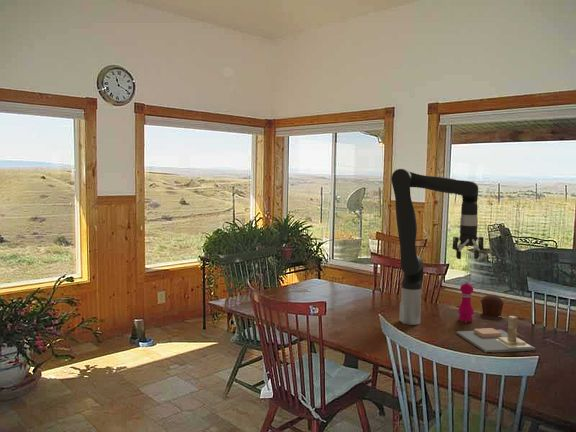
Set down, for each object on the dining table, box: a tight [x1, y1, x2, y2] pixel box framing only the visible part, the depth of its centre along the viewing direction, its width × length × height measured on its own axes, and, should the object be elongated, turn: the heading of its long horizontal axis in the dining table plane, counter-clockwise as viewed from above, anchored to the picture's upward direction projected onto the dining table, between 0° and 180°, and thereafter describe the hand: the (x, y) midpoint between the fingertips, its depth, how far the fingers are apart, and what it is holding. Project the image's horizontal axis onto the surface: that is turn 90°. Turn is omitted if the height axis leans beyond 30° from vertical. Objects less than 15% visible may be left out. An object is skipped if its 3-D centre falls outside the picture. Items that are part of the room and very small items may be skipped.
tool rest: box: [495, 339, 533, 348], centre depth 201 cm, size 10×10×1 cm
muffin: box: [480, 294, 505, 318], centre depth 248 cm, size 12×11×10 cm
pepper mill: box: [457, 280, 475, 323], centre depth 236 cm, size 7×7×20 cm
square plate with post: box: [498, 315, 527, 345], centre depth 201 cm, size 8×7×11 cm
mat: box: [456, 329, 536, 354], centre depth 206 cm, size 22×24×1 cm
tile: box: [473, 327, 501, 337], centre depth 212 cm, size 2×7×9 cm
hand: (467, 258), depth 222 cm, fingers open, 8 cm apart
